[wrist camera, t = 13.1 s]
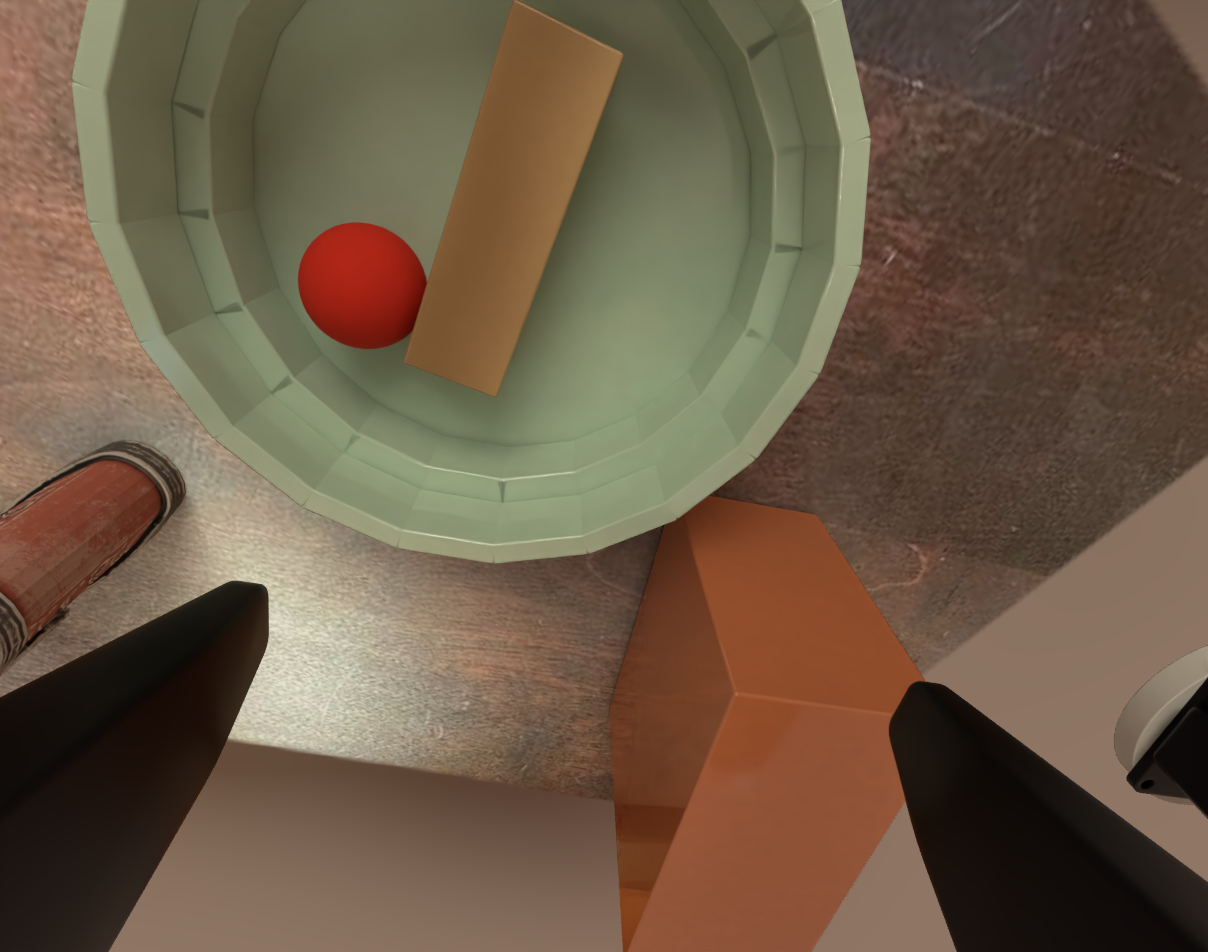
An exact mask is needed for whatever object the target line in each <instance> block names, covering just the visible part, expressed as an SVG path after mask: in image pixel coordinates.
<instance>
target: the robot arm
mask: <svg viewBox="0 0 1208 952" xmlns="http://www.w3.org/2000/svg"><path fill="white" fill-rule="evenodd" d="M268 637H269V598H268V591H267V588H266V587H265V586H264V585H262V584H257V583H250V582H243V581H230V582H227V583H225V584H223V585H221V586H219V587H217V588H215V589H213V590H211V591H209V592H207V593H205V594H203V595H202V596H200V597H198V598H196V599H194V600H192V601H190V602H188V603H186V604H184V605H182V606H180V607H178V608H176V609H174V610H172V611H170V612H168V613H166V614H164V615H162V616H160V617H158V618H156V619H154V620H152V621H150V622H148V623H146V624H144V625H142V626H140V627H138V628H136V629H134V630H132V631H130V632H128V633H126V634H125V635H123V636H121V637H119V638H117V639H115V640H113V641H111V642H109V643H107V644H105V645H103V646H101V647H99V648H97V649H95V650H93V651H91V652H89V653H87V654H85V655H83V656H81V657H79V658H77V659H75V660H73V661H71V662H69V663H67V664H65V665H63V666H61V667H59V668H57V669H55V670H53V671H51V672H49V673H47V674H46V675H44V676H42V677H40V678H38V679H36V680H34V681H32V682H30V683H28V684H26V685H24V686H22V687H20V688H18V689H16V690H14V691H12V692H10V693H8V694H6V695H4V696H2V697H0V952H109V950H110V948H111V946H112V945H113V943H114V941H115V940H116V938H117V936H118V934H119V933H120V931H121V929H122V927H123V926H124V924H125V922H126V920H127V919H128V917H129V915H130V913H131V911H132V910H133V908H134V906H135V905H136V903H137V901H138V899H139V898H140V896H141V894H142V893H143V891H144V889H145V887H146V886H147V884H148V882H149V880H150V879H151V877H152V875H153V873H154V871H155V870H156V868H157V866H158V865H159V863H160V861H161V859H162V858H163V856H164V854H165V852H166V851H167V849H168V847H169V846H170V843H171V842H172V840H173V839H174V837H175V835H176V833H177V832H178V830H179V828H180V826H181V825H182V823H183V821H184V819H185V818H186V815H187V814H188V812H189V811H190V809H191V807H192V805H193V803H194V802H195V800H196V798H197V797H198V795H199V793H200V791H201V790H202V788H203V786H204V785H205V783H206V781H207V779H208V777H209V776H210V774H211V772H212V770H213V768H214V766H215V764H216V762H217V760H218V758H219V756H220V754H221V751H222V749H223V747H224V745H225V743H226V741H227V738H228V736H229V734H230V731H231V729H232V727H233V725H234V722H235V720H236V718H237V715H238V713H239V711H240V708H241V706H242V704H243V702H244V699H245V697H246V695H247V692H248V690H249V688H250V685H251V683H252V681H253V679H254V676H255V674H256V672H257V669H258V667H259V665H260V662H261V660H262V658H263V656H264V653H265V650H266V647H267V643H268ZM889 739H890V743H891V747H892V751H893V754H894V758H895V762H896V766H897V770H898V773H899V777H900V781H901V785H902V789H903V792H904V796H905V800H906V804H907V808H908V811H909V815H910V819H911V823H912V826H913V830H914V833H915V837H916V840H917V843H918V846H919V849H920V852H921V855H922V858H923V861H924V864H925V866H926V869H927V872H928V874H929V877H930V880H931V883H932V885H933V888H934V891H935V894H936V896H937V899H938V902H939V905H940V907H941V910H942V913H943V916H944V918H945V920H946V924H947V927H948V929H949V932H950V935H951V937H952V940H953V943H954V946H955V948H956V951H957V952H1208V882H1207V881H1206V880H1204V879H1203V878H1202V877H1200V876H1199V875H1198V874H1196V873H1195V872H1194V871H1192V870H1191V869H1189V868H1188V867H1187V866H1186V865H1184V864H1183V863H1182V862H1180V861H1179V860H1178V859H1176V858H1175V857H1174V856H1172V855H1171V854H1170V853H1168V852H1167V851H1165V850H1164V849H1163V848H1162V847H1160V846H1159V845H1157V844H1156V843H1155V842H1154V841H1152V840H1151V839H1149V838H1148V837H1147V836H1145V835H1144V834H1143V833H1141V832H1140V831H1139V830H1137V829H1136V828H1135V827H1133V826H1132V825H1131V824H1129V823H1128V822H1127V821H1125V820H1124V819H1123V818H1121V817H1120V816H1119V815H1117V814H1116V813H1115V812H1113V811H1112V810H1111V809H1109V808H1108V807H1107V806H1105V805H1104V804H1103V803H1101V802H1100V801H1099V800H1097V799H1096V798H1095V797H1093V796H1092V795H1091V794H1089V793H1088V792H1087V791H1085V790H1084V789H1083V788H1081V787H1080V786H1079V785H1077V784H1076V783H1075V782H1073V781H1072V780H1071V779H1069V778H1068V777H1067V776H1065V775H1064V774H1062V773H1061V772H1060V771H1059V770H1057V769H1056V768H1055V767H1053V766H1052V765H1050V764H1049V763H1048V762H1047V761H1045V760H1044V759H1043V758H1041V757H1040V756H1039V755H1037V754H1036V753H1035V752H1033V751H1032V750H1030V749H1029V748H1028V747H1026V746H1025V745H1024V744H1023V743H1021V742H1020V741H1019V740H1017V739H1016V738H1015V737H1013V736H1012V735H1011V734H1009V733H1008V732H1006V731H1005V730H1004V729H1002V728H1001V727H1000V726H999V725H997V724H996V723H995V722H993V721H992V720H991V719H989V718H988V717H987V716H985V715H984V714H982V713H981V712H980V711H978V710H977V709H976V708H974V707H973V706H972V705H970V704H969V703H968V702H966V701H965V700H964V699H962V698H961V697H960V696H958V695H957V694H956V693H954V692H953V691H952V690H950V689H949V688H948V687H946V686H944V685H942V684H938V683H931V682H924V681H916V682H914V683H912V684H911V685H910V686H909V687H908V689H907V691H906V693H905V694H904V696H903V698H902V700H901V701H900V703H899V705H898V707H897V709H896V710H895V712H894V714H893V716H892V717H891V720H890V723H889ZM1127 781H1128V782H1129V784H1130V785H1131V786H1132V787H1133V788H1134V789H1135V791H1137V792H1140V793H1146V794H1154V795H1162V796H1169V797H1177V798H1185V799H1189V800H1190V801H1191V802H1192V803H1193V804H1194V805H1195V806H1196V807H1197V808H1198V809H1199V810H1200V811H1201V812H1202V813H1203V814H1204V816H1206V818H1207V819H1208V677H1207V679H1206V680H1205V681H1204V682H1203V684H1202V685H1201V686H1200V687H1199V688H1198V690H1197V691H1196V692H1195V693H1194V695H1193V696H1192V697H1191V698H1190V699H1189V701H1188V702H1187V703H1186V704H1185V705H1184V707H1183V708H1182V709H1181V710H1180V712H1179V713H1178V714H1177V715H1176V716H1175V718H1174V719H1173V720H1172V721H1171V722H1170V724H1169V725H1168V726H1167V727H1166V729H1165V730H1164V731H1163V732H1162V733H1161V735H1160V736H1159V737H1158V738H1157V740H1156V741H1155V742H1154V743H1153V744H1152V746H1151V747H1150V748H1149V749H1148V750H1147V752H1146V753H1145V754H1144V755H1143V757H1142V758H1141V759H1140V760H1139V761H1138V763H1137V764H1136V765H1135V766H1134V767H1133V769H1132V770H1131V771H1130V772H1129V774H1128V775H1127Z"/></svg>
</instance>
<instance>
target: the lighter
mask: <svg viewBox="0 0 1208 952" xmlns="http://www.w3.org/2000/svg"><path fill="white" fill-rule="evenodd" d="M184 495H185V489H184V481H183V479H182V477H181V475H180V473H179V471H178V469H177V468H176V467H175V466H174V465H173V464H172V463H171V462H170V460H169V459H168V458H167V457H165V456H164V455H162V454H161V453H160V452H158V451H157V450H155V449H154V448H152V447H149V446H147V445H144V444H142V443H139V442H133V441H126V440H123V441H118V442H113V443H111V444H108V445H106V446H104V447H102V448H100V449H98V450H96V451H94V452H92V453H89V454H87V455H85V456H83V457H81V458H79V459H77V460H75V461H73V462H71V463H69V464H68V465H66V466H64V467H63V468H61V469H60V470H58V471H57V472H55V473H53V474H52V475H50V476H49V477H47V478H46V479H44V480H43V481H41V482H40V483H38V484H37V485H35V486H34V487H32V488H31V489H30V490H28V491H27V492H25V493H24V494H22V495H21V496H19V497H18V498H16V499H15V500H14V501H13V502H12V503H11V504H10V505H9V506H8V507H7V508H6V509H5V510H4V511H3V512H2V513H1V514H0V677H1V676H2V675H3V674H4V673H5V672H7V671H8V670H9V669H10V668H11V667H12V666H13V665H14V664H15V663H17V662H18V661H19V660H20V659H21V658H22V657H23V656H24V655H25V654H27V653H28V652H29V651H30V650H31V649H32V648H33V647H34V646H35V645H36V644H38V643H39V642H40V641H41V640H42V639H43V638H44V637H45V636H46V635H47V634H48V633H49V632H50V631H52V630H53V629H54V628H55V627H56V626H57V625H58V624H59V623H60V622H61V621H62V620H63V619H64V618H66V617H67V616H68V614H69V609H68V608H66V606H67V605H69V604H70V603H71V602H72V601H73V600H74V599H75V598H76V597H77V596H78V595H80V594H81V593H82V592H84V591H85V590H87V589H89V588H90V587H92V586H93V585H95V584H97V583H98V582H100V581H102V580H103V579H105V578H106V577H108V576H110V575H111V574H113V573H114V572H115V571H116V570H117V569H118V568H119V567H120V566H121V565H123V564H124V563H125V562H126V561H127V560H128V559H129V558H130V557H131V556H133V555H134V554H135V553H136V552H137V551H138V550H139V549H140V548H141V547H143V546H144V545H145V544H146V543H147V542H148V541H149V540H150V539H151V538H152V537H153V536H154V535H155V534H157V533H158V531H159V530H160V529H161V528H162V526H163V525H164V524H165V523H166V521H167V520H168V519H169V518H170V516H171V515H172V514H173V513H174V511H175V510H176V509H177V508H178V506H179V505H180V504H181V502H182V500H183V498H184Z"/></svg>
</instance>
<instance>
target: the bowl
mask: <svg viewBox="0 0 1208 952" xmlns="http://www.w3.org/2000/svg"><path fill="white" fill-rule="evenodd" d="M512 1H513V0H87V5H86V10H85V15H84V19H83V24H82V29H81V34H80V39H79V44H78V49H77V54H76V58H75V63H74V68H73V73H72V80H73V81H74V82H73V83H72V85H71V86H72V95H73V103H74V112H75V120H76V128H77V137H78V145H79V154H80V162H81V171H82V179H83V187H84V196H85V204H86V213H87V219H88V221H90V223H89V227H90V229H91V231H92V234H93V236H94V238H95V241H96V243H97V245H98V248H99V250H100V252H101V255H102V257H103V259H104V262H105V264H106V267H107V269H108V271H109V274H110V276H111V278H112V281H113V283H114V285H115V288H116V290H117V292H118V295H119V297H120V299H121V302H122V304H123V307H124V309H125V311H126V314H127V316H128V318H129V321H130V323H131V325H132V328H133V330H134V332H135V335H136V337H137V339H138V341H139V342H141V344H140V346H141V347H142V348H143V350H144V351H145V352H146V354H147V355H148V356H149V357H150V359H151V360H152V361H153V363H154V364H155V365H156V366H157V368H158V369H159V370H160V371H161V373H162V374H163V375H164V377H165V378H166V379H167V380H168V382H169V383H170V384H171V386H172V387H173V388H174V389H175V391H176V392H177V393H178V395H179V396H180V397H181V398H182V400H183V401H184V402H185V403H186V405H187V406H188V407H189V409H190V410H191V411H192V412H193V414H194V415H195V416H196V418H197V419H198V420H199V421H200V423H201V424H202V425H203V427H204V428H205V429H206V430H207V432H208V433H209V434H210V435H211V437H212V438H216V439H215V440H216V441H217V442H218V443H219V444H221V445H222V446H223V447H225V448H226V449H227V450H229V451H230V452H231V453H232V454H234V455H235V456H236V457H238V458H239V459H240V460H241V461H243V462H244V463H245V464H247V465H248V466H249V467H251V468H252V469H253V470H254V471H256V472H257V473H258V474H260V475H261V476H262V477H263V478H265V479H266V480H267V481H269V482H270V483H271V484H273V485H274V486H275V487H276V488H278V489H279V490H280V491H282V492H283V493H284V494H285V495H287V496H288V497H289V498H291V499H292V500H293V501H295V502H296V503H297V504H298V505H300V506H303V505H304V508H305V509H307V510H309V511H312V512H314V513H316V514H319V515H321V516H323V517H325V518H328V519H330V520H332V521H335V522H337V523H339V524H342V525H344V526H346V527H349V528H351V529H353V530H355V531H358V532H360V533H362V534H365V535H367V536H369V537H372V538H374V539H376V540H378V541H381V542H383V543H385V544H388V545H390V546H392V547H395V548H396V547H398V548H399V549H403V550H409V551H416V552H422V553H428V554H435V555H441V556H447V557H454V558H460V559H466V560H473V561H479V562H485V563H493V562H494V563H496V564H498V563H507V562H517V561H527V560H536V559H546V558H556V557H565V556H575V555H585V554H587V553H589V554H591V553H593V552H596V551H599V550H601V549H604V548H606V547H609V546H611V545H614V544H616V543H619V542H622V541H624V540H627V539H629V538H632V537H634V536H637V535H640V534H642V533H645V532H647V531H650V530H652V529H655V528H658V527H660V526H663V525H665V524H668V523H670V522H673V521H675V520H676V519H677V518H680V517H681V516H682V515H684V514H685V513H686V512H688V511H689V510H690V509H692V508H693V507H694V506H696V505H697V504H698V503H700V502H701V501H702V500H704V499H705V498H706V497H708V496H709V495H710V494H712V493H713V492H714V491H715V490H717V489H718V488H719V487H721V486H722V485H723V484H725V483H726V482H727V481H729V480H730V479H731V478H733V477H734V476H735V475H737V474H738V473H739V472H741V471H742V470H743V469H745V468H746V467H747V466H749V465H750V464H751V463H753V462H754V460H755V459H756V458H758V457H759V455H760V454H761V453H762V451H763V450H764V449H765V447H766V446H767V445H768V443H769V442H770V441H771V439H772V438H773V437H774V435H775V434H776V433H777V431H778V430H779V429H780V427H781V426H782V425H783V423H784V422H785V421H786V419H787V418H788V417H789V415H790V414H791V413H792V411H793V410H794V409H795V407H796V406H797V405H798V403H799V402H800V401H801V399H802V398H803V397H804V395H805V394H806V393H807V391H808V390H809V389H810V387H811V386H812V385H813V383H814V382H815V381H816V379H817V378H818V374H820V372H821V370H822V367H823V365H824V362H825V359H826V357H827V354H828V352H829V349H830V346H831V344H832V341H833V338H834V336H835V333H836V330H837V328H838V325H839V322H840V320H841V317H842V315H843V312H844V309H845V307H846V304H847V301H848V299H849V296H850V293H851V291H852V288H853V285H854V283H855V280H856V278H857V275H858V272H859V269H860V267H859V265H861V259H862V246H863V233H864V220H865V207H866V194H867V181H868V168H869V155H870V142H871V140H870V138H869V136H870V130H869V125H868V121H867V116H866V111H865V107H864V102H863V98H862V93H861V89H860V84H859V80H858V75H857V70H856V66H855V61H854V57H853V52H852V48H851V43H850V39H849V34H848V30H847V25H846V20H845V16H844V11H843V7H842V2H841V0H521V1H523V2H525V3H527V4H529V5H531V6H533V7H535V8H536V9H538V10H540V11H542V12H544V13H546V14H548V15H550V16H552V17H554V18H556V19H558V20H560V21H562V22H564V23H566V24H568V25H570V26H571V27H573V28H575V29H577V30H579V31H581V32H583V33H585V34H587V35H589V36H591V37H593V38H595V39H597V40H599V41H601V42H603V43H605V44H607V45H608V46H610V47H612V48H614V49H616V50H618V51H620V52H622V53H623V55H624V59H623V61H622V64H621V67H620V69H619V72H618V75H617V77H616V80H615V83H614V85H613V88H612V91H611V93H610V96H609V99H608V101H607V104H606V107H605V109H604V112H603V115H602V117H601V120H600V123H599V126H598V128H597V131H596V134H595V136H594V139H593V142H592V144H591V147H590V150H589V152H588V155H587V158H586V160H585V163H584V166H583V168H582V171H581V174H580V176H579V179H578V182H577V184H576V187H575V190H574V192H573V195H572V198H571V200H570V203H569V206H568V208H567V211H566V214H565V216H564V219H563V222H562V224H561V227H560V230H559V232H558V235H557V238H556V240H555V243H554V246H553V248H552V251H551V254H550V256H549V259H548V262H547V264H546V267H545V270H544V272H543V275H542V278H541V280H540V283H539V286H538V289H537V291H536V294H535V297H534V299H533V302H532V305H531V307H530V310H529V313H528V315H527V318H526V321H525V323H524V326H523V329H522V331H521V334H520V337H519V339H518V342H517V345H516V347H515V350H514V353H513V355H512V358H511V361H510V363H509V366H508V369H507V371H506V374H505V377H504V379H503V382H502V385H501V387H500V390H499V393H498V395H497V396H496V397H492V396H489V395H487V394H484V393H481V392H479V391H476V390H474V389H471V388H468V387H466V386H463V385H460V384H458V383H455V382H452V381H450V380H447V379H444V378H442V377H439V376H436V375H434V374H431V373H429V372H426V371H423V370H421V369H418V368H415V367H413V366H410V365H407V364H405V363H404V358H405V354H406V351H407V348H408V344H409V341H410V338H411V335H412V332H411V333H410V334H409V335H408V336H406V337H405V338H404V339H402V340H401V341H399V342H397V343H395V344H393V345H390V346H387V347H383V348H378V349H360V348H354V347H350V346H347V345H344V344H342V343H339V342H337V341H336V340H334V339H332V338H330V337H329V336H328V335H326V334H325V333H324V332H323V331H321V330H320V329H319V328H318V327H317V326H316V325H315V323H314V322H313V321H312V320H311V318H310V317H309V315H308V314H307V312H306V310H305V308H304V306H303V303H302V300H301V298H300V293H299V288H298V271H299V266H300V262H301V260H302V257H303V255H304V253H305V251H306V249H307V248H308V246H309V245H310V244H311V242H312V241H313V240H314V239H315V238H316V237H318V236H319V235H320V234H321V233H323V232H324V231H326V230H328V229H330V228H332V227H334V226H337V225H340V224H345V223H352V222H362V223H369V224H373V225H377V226H380V227H383V228H385V229H387V230H389V231H391V232H393V233H394V234H396V235H397V236H399V237H400V238H401V239H402V240H404V241H405V242H406V243H407V244H408V245H409V246H410V247H411V249H412V250H413V251H414V252H415V254H416V255H417V257H418V259H419V260H420V262H421V265H422V267H423V269H424V272H425V275H426V280H427V282H428V278H429V275H430V272H431V268H432V265H433V262H434V258H435V255H436V252H437V248H438V245H439V242H440V238H441V235H442V232H443V229H444V225H445V222H446V219H447V215H448V212H449V209H450V205H451V202H452V199H453V195H454V192H455V189H456V185H457V182H458V179H459V176H460V172H461V169H462V166H463V162H464V159H465V156H466V152H467V149H468V146H469V142H470V139H471V136H472V132H473V129H474V126H475V122H476V119H477V116H478V113H479V109H480V106H481V103H482V99H483V96H484V93H485V89H486V86H487V83H488V79H489V76H490V73H491V69H492V66H493V63H494V60H495V56H496V53H497V50H498V46H499V43H500V40H501V36H502V33H503V30H504V26H505V23H506V20H507V16H508V13H509V10H510V7H511V3H512ZM754 458H755V459H754Z"/></svg>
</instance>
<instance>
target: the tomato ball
mask: <svg viewBox="0 0 1208 952" xmlns="http://www.w3.org/2000/svg"><path fill="white" fill-rule="evenodd" d="M426 285H427V280H426V275H425V272H424V269H423V267H422V265H421V262H420V260H419V259H418V257H417V255H416V254H415V252H414V251H413V250H412V249H411V247H410V246H409V245H408V244H407V243H406V242H405V241H404V240H402V239H401V238H400V237H399V236H397V235H396V234H394V233H393V232H391V231H389V230H387V229H385V228H383V227H380V226H377V225H373V224H369V223H362V222H352V223H345V224H340V225H337V226H334V227H332V228H330V229H328V230H326V231H324V232H323V233H321V234H320V235H319V236H318V237H316V238H315V239H314V240H313V241H312V242H311V244H310V245H309V246H308V248H307V249H306V251H305V253H304V255H303V257H302V260H301V262H300V266H299V271H298V288H299V293H300V298H301V300H302V303H303V306H304V308H305V310H306V312H307V314H308V315H309V317H310V318H311V320H312V321H313V322H314V323H315V325H316V326H317V327H318V328H319V329H320V330H321V331H323V332H324V333H325V334H326V335H328V336H329V337H330V338H332V339H334V340H336V341H337V342H339V343H342V344H344V345H347V346H350V347H354V348H360V349H378V348H383V347H387V346H390V345H393V344H395V343H397V342H399V341H401V340H402V339H404V338H405V337H406V336H408V335H409V334H410V333H411V332H412V331H413V328H414V325H415V321H416V318H417V315H418V311H419V308H420V305H421V301H422V298H423V295H424V291H425V288H426Z"/></svg>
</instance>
